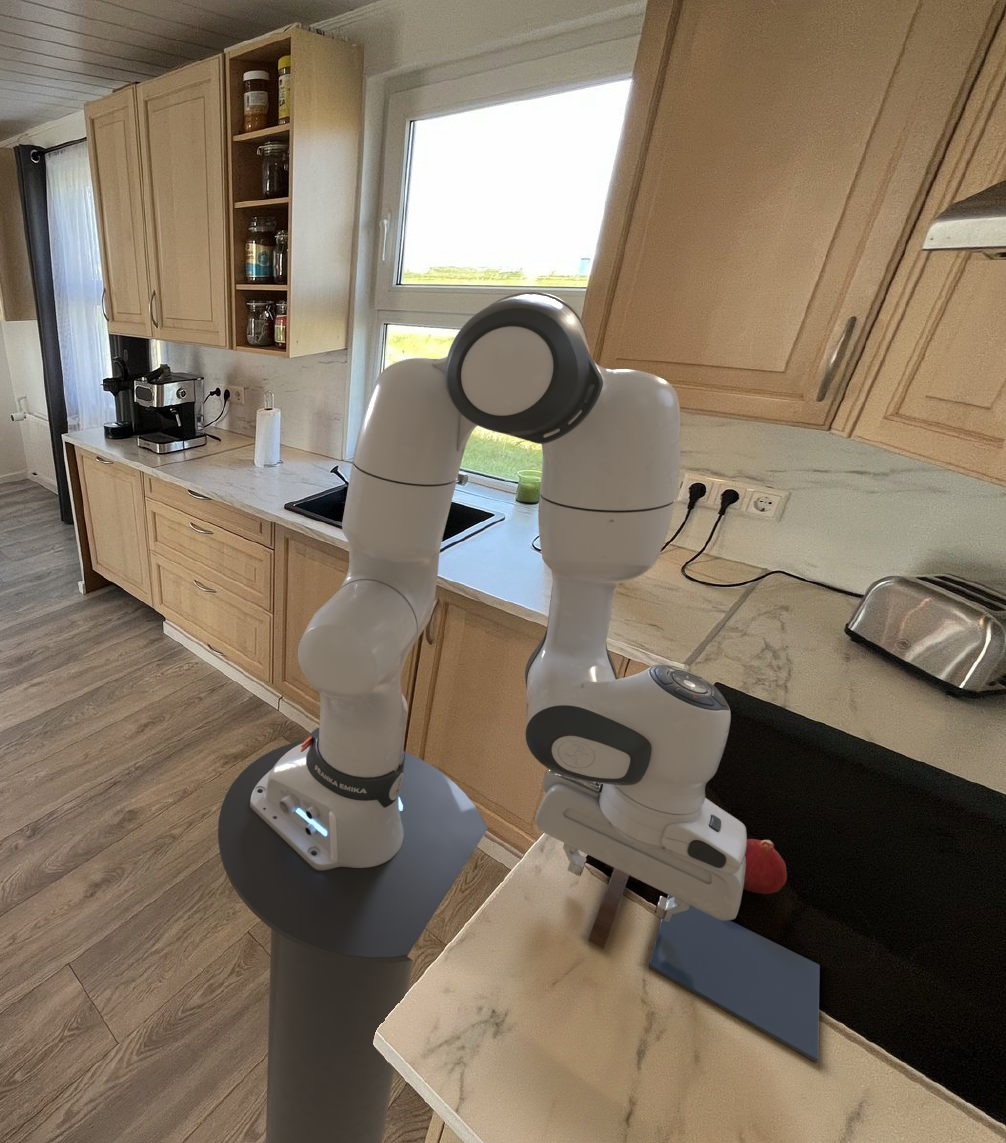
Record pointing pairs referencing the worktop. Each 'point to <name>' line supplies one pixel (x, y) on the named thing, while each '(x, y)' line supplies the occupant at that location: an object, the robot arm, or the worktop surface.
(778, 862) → the red fruit
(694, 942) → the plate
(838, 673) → the worktop surface
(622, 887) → the fork
